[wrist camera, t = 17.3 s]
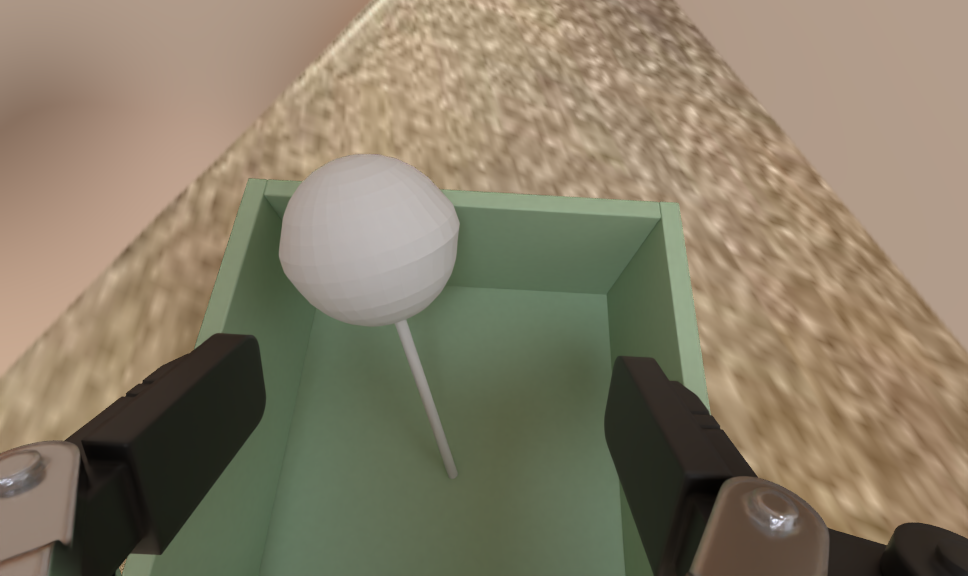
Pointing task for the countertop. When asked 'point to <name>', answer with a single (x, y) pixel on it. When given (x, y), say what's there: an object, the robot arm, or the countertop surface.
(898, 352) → the countertop surface
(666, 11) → the countertop surface
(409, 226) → the lollipop
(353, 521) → the bin
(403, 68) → the countertop surface
